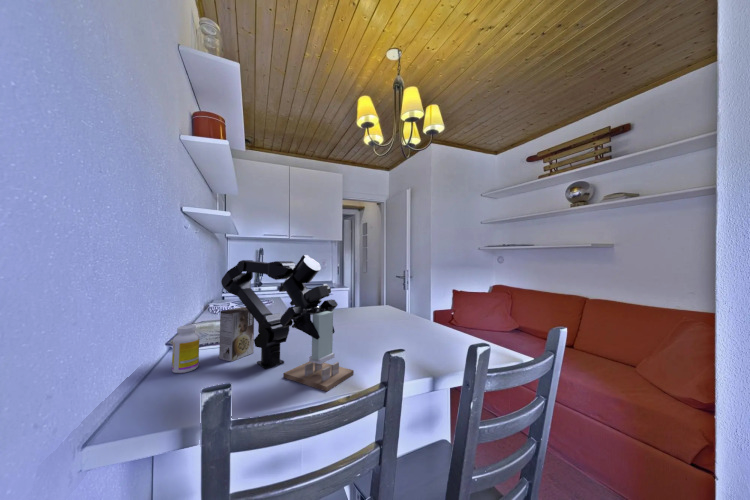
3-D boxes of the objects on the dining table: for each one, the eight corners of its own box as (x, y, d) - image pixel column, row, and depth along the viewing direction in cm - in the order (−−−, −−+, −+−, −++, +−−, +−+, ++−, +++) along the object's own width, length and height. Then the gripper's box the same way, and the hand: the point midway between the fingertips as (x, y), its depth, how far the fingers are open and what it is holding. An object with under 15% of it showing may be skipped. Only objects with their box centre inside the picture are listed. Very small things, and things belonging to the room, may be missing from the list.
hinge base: (283, 377, 75) (283, 362, 76) (312, 363, 86) (313, 350, 86) (326, 391, 67) (327, 374, 68) (353, 374, 78) (353, 359, 78)
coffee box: (241, 350, 97) (242, 306, 98) (254, 353, 95) (255, 307, 96) (218, 359, 89) (219, 310, 90) (231, 362, 87) (233, 312, 87)
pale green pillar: (309, 361, 73) (310, 314, 74) (323, 354, 79) (324, 310, 79) (320, 364, 71) (321, 315, 72) (334, 357, 77) (335, 312, 77)
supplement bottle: (203, 366, 83) (205, 324, 83) (184, 375, 76) (185, 330, 77) (186, 364, 84) (187, 323, 85) (165, 372, 78) (167, 328, 78)
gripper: (288, 277, 70) (319, 324, 64) (333, 274, 86) (361, 312, 80) (268, 304, 73) (295, 351, 68) (314, 296, 90) (340, 334, 84)
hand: (326, 335), depth 75 cm, fingers closed on pale green pillar, 6 cm apart
